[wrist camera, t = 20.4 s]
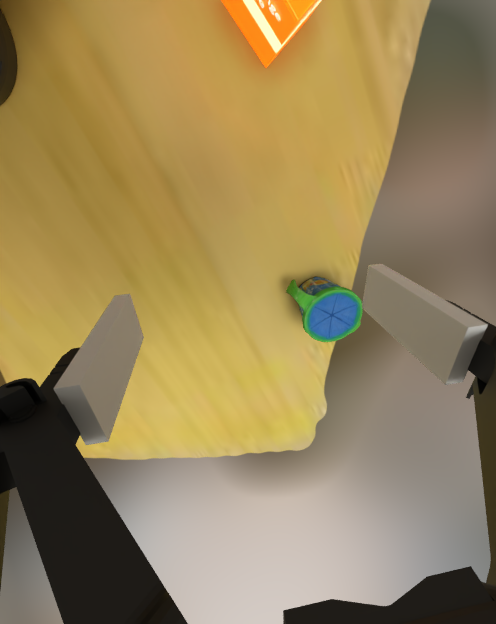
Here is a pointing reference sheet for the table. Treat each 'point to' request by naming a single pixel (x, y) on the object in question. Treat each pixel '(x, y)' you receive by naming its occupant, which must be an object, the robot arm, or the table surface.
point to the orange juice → (270, 22)
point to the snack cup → (327, 308)
